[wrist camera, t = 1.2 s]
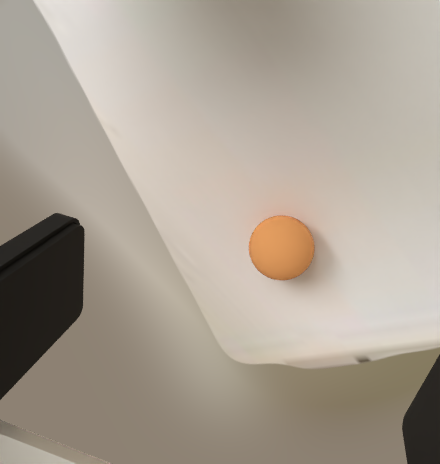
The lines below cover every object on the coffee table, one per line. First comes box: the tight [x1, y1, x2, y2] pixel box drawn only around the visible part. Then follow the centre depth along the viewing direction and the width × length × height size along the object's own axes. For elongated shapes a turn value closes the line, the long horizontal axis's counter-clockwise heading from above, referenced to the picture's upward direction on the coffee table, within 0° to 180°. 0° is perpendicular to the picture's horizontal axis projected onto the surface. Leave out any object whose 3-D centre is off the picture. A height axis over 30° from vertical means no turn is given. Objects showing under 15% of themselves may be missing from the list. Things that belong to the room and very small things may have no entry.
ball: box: [249, 216, 314, 280], centre depth 38 cm, size 6×6×6 cm
